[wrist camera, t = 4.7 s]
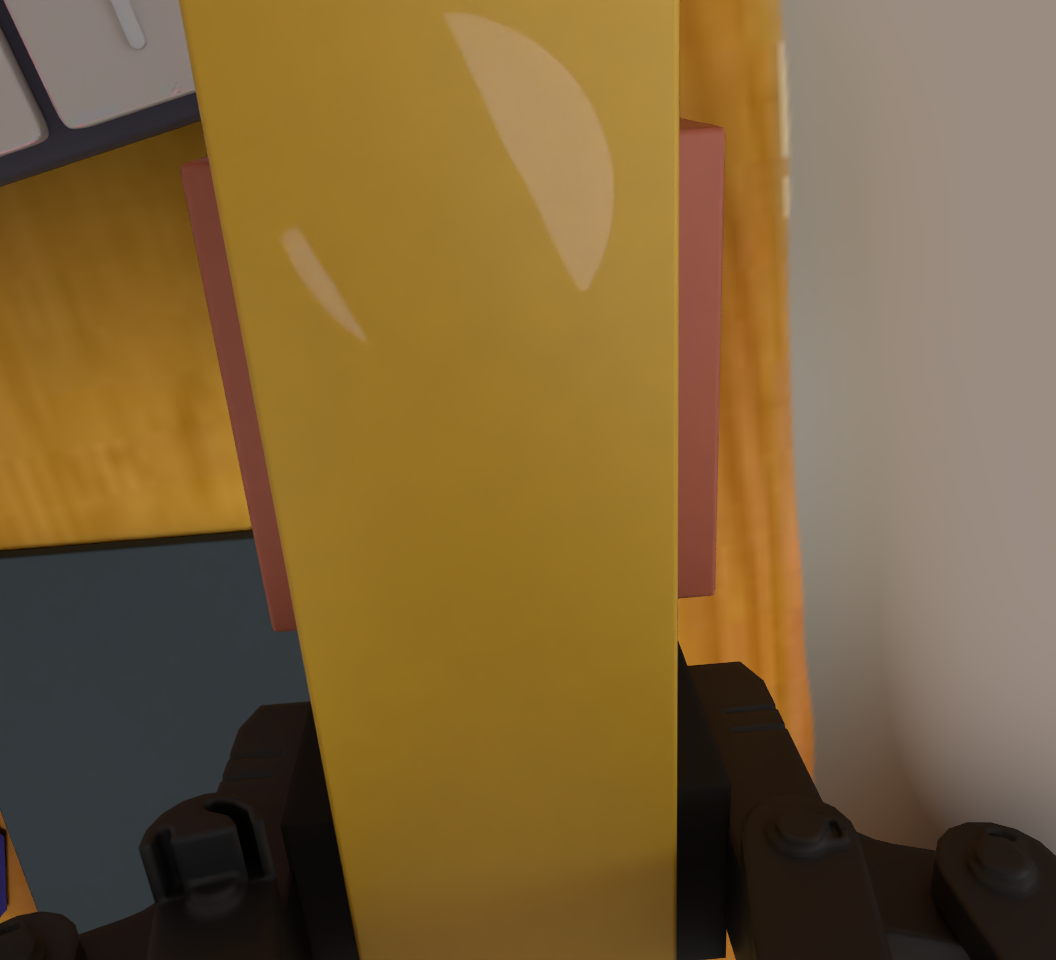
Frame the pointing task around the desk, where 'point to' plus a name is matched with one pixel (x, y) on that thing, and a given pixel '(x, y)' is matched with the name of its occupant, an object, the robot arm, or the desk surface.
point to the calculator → (88, 79)
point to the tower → (696, 365)
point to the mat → (125, 701)
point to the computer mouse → (2, 877)
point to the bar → (470, 444)
